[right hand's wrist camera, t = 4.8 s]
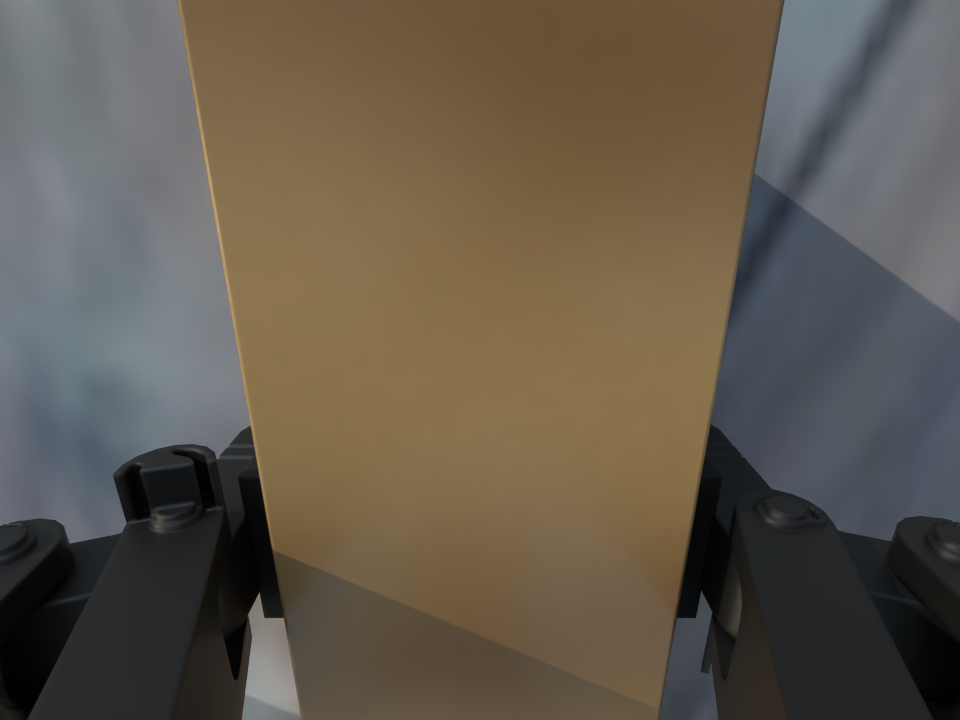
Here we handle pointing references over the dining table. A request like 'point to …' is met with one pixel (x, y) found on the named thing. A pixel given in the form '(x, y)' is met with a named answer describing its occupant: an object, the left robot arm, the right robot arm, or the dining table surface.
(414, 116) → the bar
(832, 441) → the dining table surface
